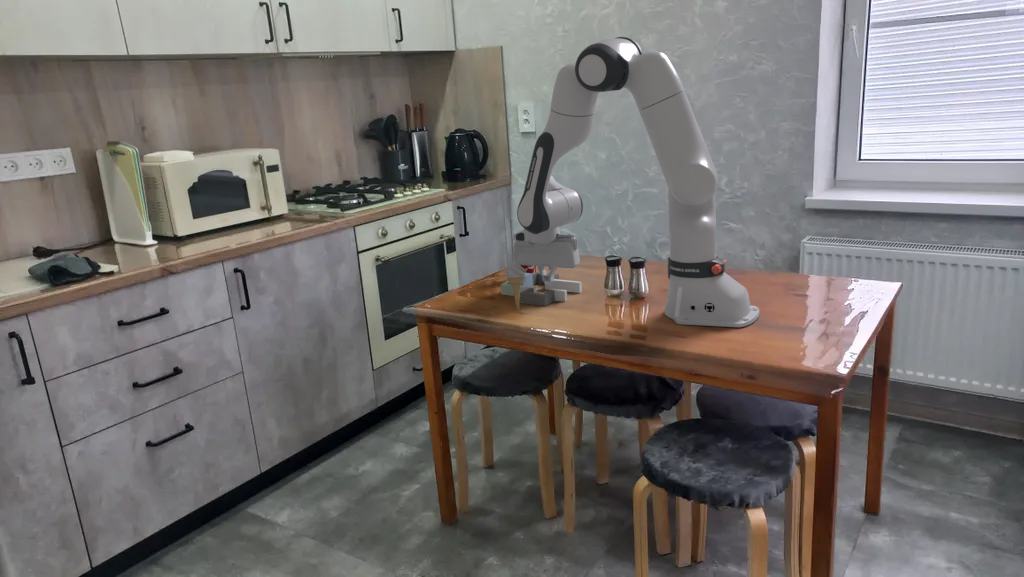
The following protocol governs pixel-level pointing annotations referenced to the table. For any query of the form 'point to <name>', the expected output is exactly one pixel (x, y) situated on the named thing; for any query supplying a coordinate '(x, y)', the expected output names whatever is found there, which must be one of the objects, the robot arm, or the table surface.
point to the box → (555, 292)
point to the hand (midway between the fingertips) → (548, 281)
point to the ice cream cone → (515, 278)
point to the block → (527, 280)
